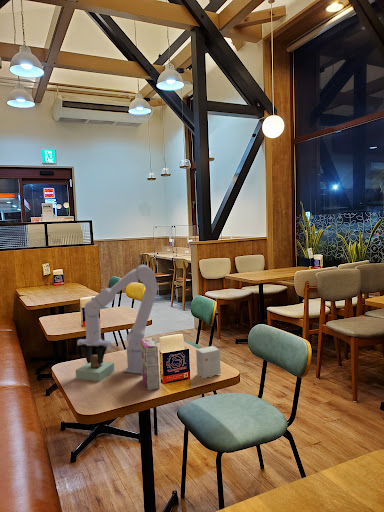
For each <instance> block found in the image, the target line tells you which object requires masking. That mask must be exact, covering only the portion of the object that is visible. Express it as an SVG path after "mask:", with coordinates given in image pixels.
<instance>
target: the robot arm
mask: <svg viewBox="0 0 384 512" xmlns="http://www.w3.org/2000/svg"><path fill="white" fill-rule="evenodd" d="M139 280H140V282H141V283H142V284H143V286H144V288H145V291H144V294H143V297H142V300H141V303H140V306H139V308H138V312H137V314H136V318H135V321H134V324H132V327H131V329H130V331H129V332H128V333H127V335H126V341H127V347H126V359H127V361H126V362H127V368H125V369H124V370H123V372H124V373H131V374H142V359H141V342H140V339H145V333H146V327H147V324H148V321H149V318H150V315H151V312H152V309H153V306H154V302H155V299H156V296H157V292H158V291H159V286H158V282H157V278H156V274H155V272H154V270H152V268H151V267H149V265H146V264H139V265H138V266H136V268H133V269H132V270H130V271H129V272H128V273H125V275H124V276H123V277H122V278H121V279H119V280H118V281H117V282H116V283H115V284H114V285H112V286H111V287H106V288H101V289H100V290H99V291H100V292H99V293H98V294H96V295H95V296H94V297H93V296H92V297H91V298H90V300H88V301H87V302H86V303H85V305H84V313H85V315H84V318H85V320H84V321H85V322H84V323H85V337H86V338H85V339H83V338H79V339H78V340H77V342H76V343H77V346H80V350H81V352H82V353H83V354H84V357H85V360H86V362H87V363H90V362H91V360H90V356H91V355H93V353H92V350H93V347H96V348H95V352H96V354H97V356H98V364H102V363H103V362H104V357H105V354H106V351H107V349H108V348H111V346H112V342H111V341H109V340H104V339H102V337H101V336H102V335H101V333H102V332H101V319H100V315H99V314H100V312H101V310H103V309H105V308H106V307H107V306H108V305H109V304H111V303H112V302H113V301H114V300H115V299H116V295H117V294H118V293H119V292H120V291H122V290H124V288H126V287H127V286H129V285H130V284H131V283H139ZM87 363H86V364H87Z"/></svg>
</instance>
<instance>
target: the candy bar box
mask: <svg viewBox="0 0 384 512" xmlns="http://www.w3.org/2000/svg"><path fill="white" fill-rule="evenodd" d="M140 342H141V359H142V376H141V377H142V381H143V383H144V385H145V388H146V390H147V391H153V390H154V391H155V390H159V389H160V371H159V369H160V368H159V355H158V354H159V353H158V351H159V350H158V345H157V344H156V341H155V340H154V339H153V337H146V338H145V337H144V338H143V339H140Z"/></svg>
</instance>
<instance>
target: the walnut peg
mask: <svg viewBox="0 0 384 512" xmlns="http://www.w3.org/2000/svg"><path fill="white" fill-rule="evenodd" d="M90 360H91V368H93V369H98V368H99V364H98V356H97V353H96V354H92V355H91V356H90Z"/></svg>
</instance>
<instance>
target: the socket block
mask: <svg viewBox="0 0 384 512" xmlns="http://www.w3.org/2000/svg"><path fill="white" fill-rule="evenodd" d="M113 372H115V362H110V361H103V363H102V364H99V368H98V369H93V368H91V362H90V363H85V364H83V365H82V366H79V368H77V369H75V379H76V380H85V381H93V382H101V381H102V380H104V379H106V377H108V376H109V375H111V374H112V373H113Z"/></svg>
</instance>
